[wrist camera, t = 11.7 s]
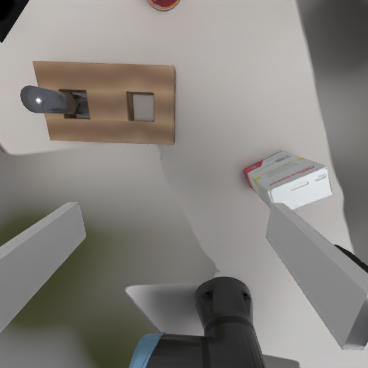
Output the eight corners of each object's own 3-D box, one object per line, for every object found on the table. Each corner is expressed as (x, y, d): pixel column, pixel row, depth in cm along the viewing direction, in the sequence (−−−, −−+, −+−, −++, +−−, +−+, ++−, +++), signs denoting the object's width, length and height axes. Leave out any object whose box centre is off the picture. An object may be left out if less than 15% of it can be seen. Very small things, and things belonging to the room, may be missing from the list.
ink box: (250, 188, 38) (276, 218, 27) (242, 169, 36) (266, 191, 25) (290, 171, 36) (335, 195, 25) (283, 150, 35) (328, 165, 24)
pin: (95, 115, 33) (48, 113, 22) (79, 114, 33) (24, 112, 22) (93, 97, 32) (42, 86, 21) (77, 96, 32) (17, 85, 21)
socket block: (174, 142, 35) (173, 144, 31) (63, 138, 35) (50, 140, 31) (175, 71, 30) (174, 65, 27) (49, 67, 31) (32, 61, 27)
